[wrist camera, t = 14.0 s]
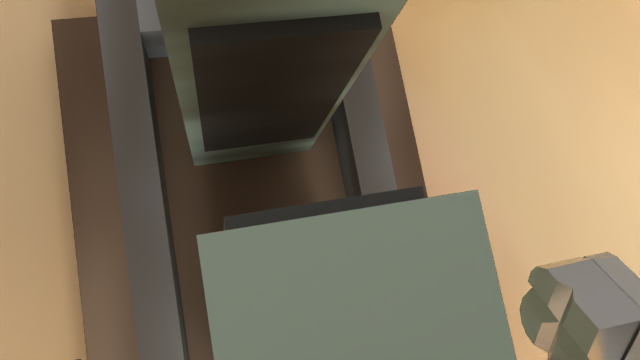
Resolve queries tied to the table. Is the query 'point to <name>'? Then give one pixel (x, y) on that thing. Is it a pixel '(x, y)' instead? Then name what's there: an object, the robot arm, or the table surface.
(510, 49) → the table surface
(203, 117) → the rail base
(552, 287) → the robot arm
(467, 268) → the block
